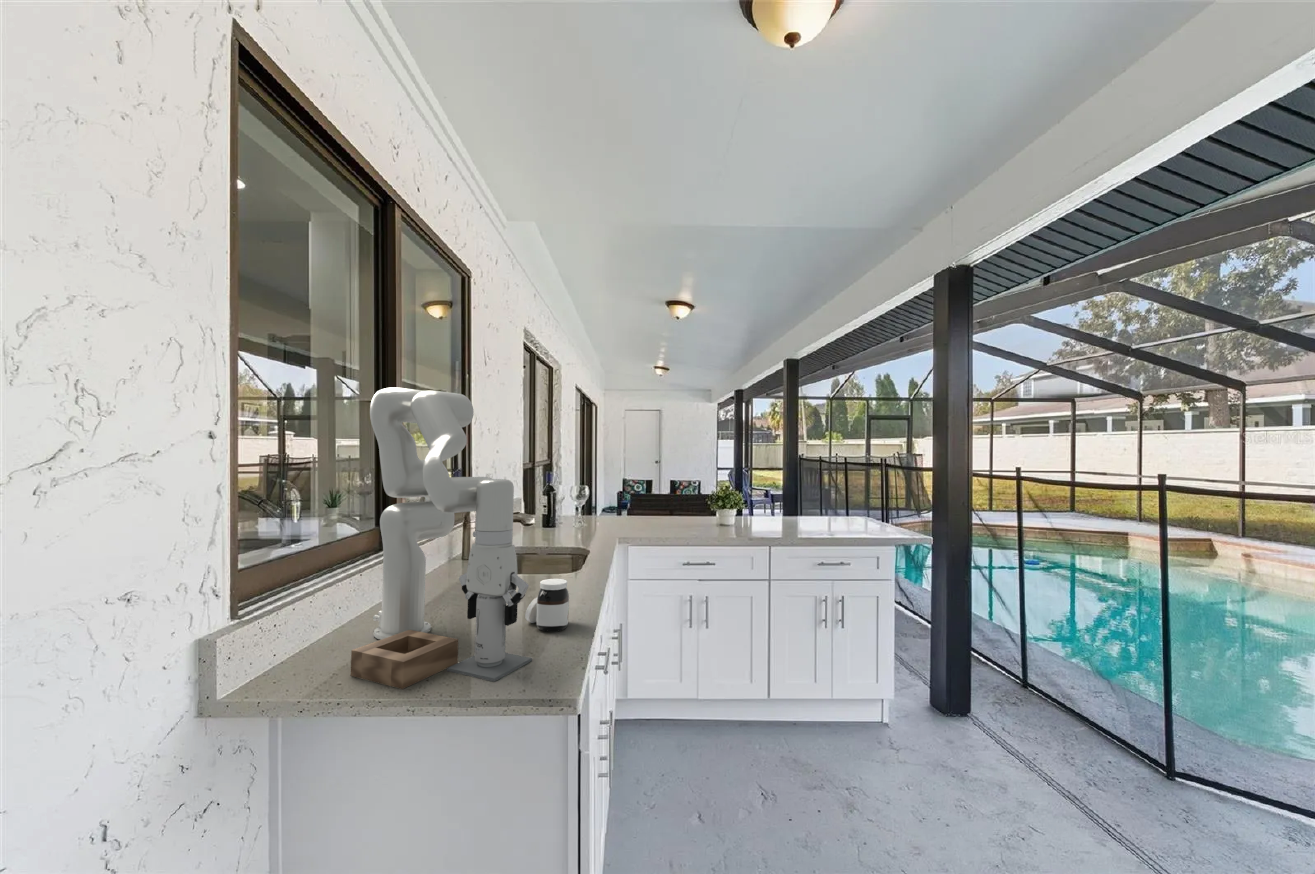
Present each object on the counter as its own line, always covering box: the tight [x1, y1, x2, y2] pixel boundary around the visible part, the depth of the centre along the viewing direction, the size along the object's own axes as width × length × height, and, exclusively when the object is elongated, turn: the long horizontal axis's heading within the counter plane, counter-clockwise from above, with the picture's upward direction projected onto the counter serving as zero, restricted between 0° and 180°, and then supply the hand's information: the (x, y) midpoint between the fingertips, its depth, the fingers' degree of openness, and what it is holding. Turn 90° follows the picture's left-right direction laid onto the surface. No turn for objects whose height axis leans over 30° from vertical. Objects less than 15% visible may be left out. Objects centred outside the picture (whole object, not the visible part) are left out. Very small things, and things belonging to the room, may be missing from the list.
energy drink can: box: [474, 594, 507, 667], centre depth 114 cm, size 6×6×15 cm
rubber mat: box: [446, 652, 533, 682], centre depth 113 cm, size 12×12×1 cm
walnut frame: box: [350, 630, 459, 690], centre depth 111 cm, size 14×14×5 cm
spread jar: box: [524, 578, 570, 633], centre depth 140 cm, size 12×11×12 cm
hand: (491, 620), depth 114 cm, fingers open, 9 cm apart
